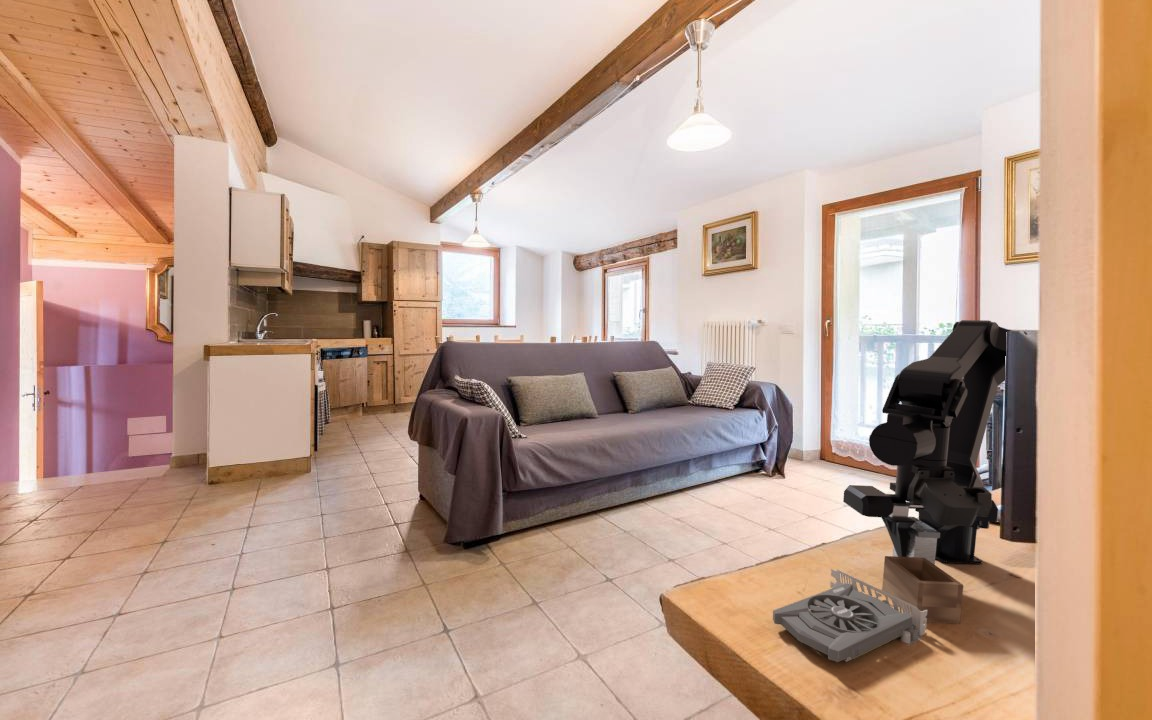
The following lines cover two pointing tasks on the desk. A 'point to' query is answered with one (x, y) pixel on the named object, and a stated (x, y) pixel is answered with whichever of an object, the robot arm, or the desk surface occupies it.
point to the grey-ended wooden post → (921, 541)
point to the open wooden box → (923, 587)
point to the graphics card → (850, 620)
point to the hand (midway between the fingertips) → (912, 559)
